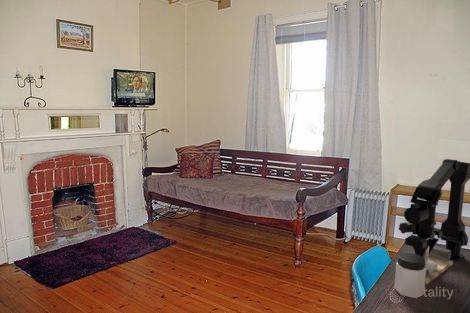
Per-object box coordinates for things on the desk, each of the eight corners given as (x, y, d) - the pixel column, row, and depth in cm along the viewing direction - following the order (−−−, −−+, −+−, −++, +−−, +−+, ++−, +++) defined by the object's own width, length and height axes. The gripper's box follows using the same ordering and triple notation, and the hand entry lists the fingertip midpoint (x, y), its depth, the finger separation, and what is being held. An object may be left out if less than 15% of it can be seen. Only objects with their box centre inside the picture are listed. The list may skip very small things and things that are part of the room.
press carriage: (415, 261, 138) (416, 239, 137) (437, 269, 132) (439, 245, 131) (405, 267, 133) (407, 244, 132) (428, 275, 127) (430, 251, 126)
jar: (413, 301, 114) (416, 265, 112) (389, 290, 121) (392, 256, 119) (428, 293, 119) (431, 259, 117) (405, 282, 126) (407, 250, 124)
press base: (425, 256, 148) (426, 243, 147) (452, 264, 140) (453, 251, 139) (398, 273, 132) (400, 259, 131) (427, 284, 125) (428, 269, 124)
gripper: (414, 208, 142) (411, 246, 144) (391, 218, 130) (388, 258, 132) (444, 215, 134) (440, 254, 136) (424, 226, 122) (420, 269, 124)
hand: (422, 259), depth 132 cm, fingers open, 6 cm apart
